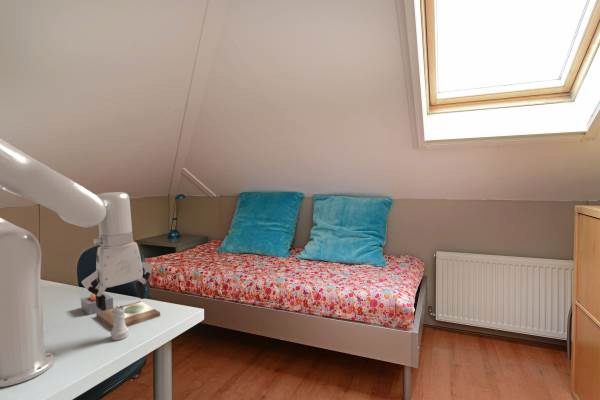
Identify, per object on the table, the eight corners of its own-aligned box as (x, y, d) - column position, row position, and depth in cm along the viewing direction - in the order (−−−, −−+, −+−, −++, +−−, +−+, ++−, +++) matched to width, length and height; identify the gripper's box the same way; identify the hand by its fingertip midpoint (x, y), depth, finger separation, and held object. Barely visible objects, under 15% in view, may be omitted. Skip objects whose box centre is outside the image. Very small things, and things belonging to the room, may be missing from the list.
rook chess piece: (121, 341, 88) (119, 311, 87) (106, 340, 89) (104, 310, 88) (133, 333, 92) (131, 304, 92) (118, 332, 93) (117, 303, 93)
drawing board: (114, 330, 94) (114, 325, 94) (96, 316, 103) (96, 312, 103) (160, 315, 104) (160, 311, 104) (140, 304, 113) (139, 300, 113)
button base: (88, 314, 105) (88, 304, 105) (81, 309, 110) (80, 298, 109) (113, 308, 110) (112, 297, 110) (105, 302, 115) (104, 293, 115)
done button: (92, 303, 107) (92, 297, 107) (88, 300, 110) (88, 294, 109) (105, 300, 110) (104, 294, 110) (101, 297, 112) (100, 292, 112)
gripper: (83, 248, 80) (90, 318, 82) (156, 235, 93) (160, 296, 95) (73, 244, 85) (80, 310, 87) (143, 232, 98) (148, 290, 99)
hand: (122, 303), depth 91 cm, fingers open, 9 cm apart
